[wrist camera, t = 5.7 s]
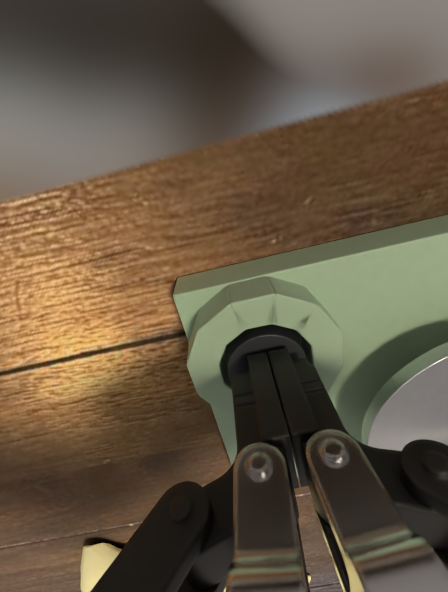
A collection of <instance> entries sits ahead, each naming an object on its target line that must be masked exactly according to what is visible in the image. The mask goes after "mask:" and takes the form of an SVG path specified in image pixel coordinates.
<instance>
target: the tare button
mask: <svg viewBox="0 0 448 592" xmlns="http://www.w3.org/2000/svg"><path fill="white" fill-rule="evenodd" d="M282 348H287V349H288V352H289V354H290V357H291V359H292V361H294V360H298V359H303V358H305V359H306V355H305V352H304V350H303V348H302V346H301V344H300V341H299V339H298V337H297V335H296V333H295V331H294V329H290V328H285V327H281V326H277V325H273V324H270V325H265V326H261V327H256V328H251V329H247V330H245V331H243V332H242V333H241V334H240V335H238V336H237V337H236V338H235V339H233V340H232V341H231V342H230V343H228V344H227V345H226V356H227V369H228V375H229V378H230V380H231V382H232V381H233V379H234V377H235V374H236V373H237V372H241V371H246V370H249V364H248V359H247V356H249V355H254V354H258V353H263V352H266V354H267V357H268V352H267V351H272V350H277V349H282ZM268 361H269V357H268ZM269 365H270V362H269ZM270 368H271V367H270Z"/></svg>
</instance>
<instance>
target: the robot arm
mask: <svg viewBox="0 0 448 592" xmlns="http://www.w3.org/2000/svg"><path fill="white" fill-rule="evenodd" d="M267 352H268V357H269V361H268V357H267V354H266V352H263V353H258V354H254V355H249V356H247V359H248V364H249V370H246V371H241V372H237V373H236V374H235V377H234V379H233V381H232V395H233V406H234V418H235V429H236V440H237V454H236V458H235V460H234V463H233V464H232V466H231V467H230V469H229V470H228V471H227V472H226V473H225V474H224V475H223V476H221V477H220V478H218V479H216V480H214V481H213V482H211V483H209V484H207V485H206V486H204V487H201V486H200V485H199V484H197V483H195V482H189V481H186V482H181V483H178V484H176V485H174V486H172V487H171V488H170V489H169V490H167V491H166V492H165V494H164V495H163V496H162V497H161V498H160V500H159V501H158V502H157V504H156V505H155V506H154V508H153V509H152V510H151V512H150V513H149V514H148V516H147V517H146V518H145V520H144V521H143V522H142V524H141V525H140V526H139V528H138V529H137V530H136V532H135V533H134V534H133V536H132V537H131V538H130V540H129V541H128V542H127V544H126V545H125V546H124V548H123V549H122V550H121V552H120V553H119V554H118V556H117V557H116V558H115V560H114V561H113V562H112V564H111V565H110V566H109V568H108V569H107V570H106V571H105V573H104V574H103V575H102V577H101V578H100V579H99V581H98V582H97V583H96V585H95V586H94V587H93V589H92V590H91V591H90V592H224V590H225V588H226V592H310V588H309V582H308V576H307V570H306V564H305V558H304V552H303V547H302V541H301V535H300V529H299V523H298V518H299V512H298V506H297V502H296V497H295V492H294V488H299V484H298V479H297V474H296V469H297V473H298V476H299V480H300V484H301V487H303V486H309V488H310V492H311V495H312V498H313V502H314V507H315V513H316V517H317V520H318V522H319V525H320V528H321V531H322V533H323V536H324V539H325V542H326V545H327V547H328V550H329V553H330V556H331V558H332V561H333V564H334V567H335V569H336V572H337V575H338V578H339V581H340V583H341V586H342V589H343V592H448V445H445V444H443V443H441V442H437V441H434V440H428V439H419V440H414V441H411V442H409V443H408V444H406V445H405V447H404V448H403V450H402V451H396V450H388V449H380V448H374V447H371V446H367V445H365V444H363V443H361V442H359V441H357V440H356V439H355V438H353V437H352V436H351V435H350V434H349V433H348V432H347V430H346V429H345V427H344V426H343V424H342V422H341V419H340V417H339V415H338V413H337V411H336V409H335V407H334V405H333V403H332V401H331V399H330V397H329V395H328V393H327V391H326V390H325V387H324V384H323V382H322V380H321V379H320V376H319V374H318V372H317V370H316V368H315V366H313V365H312V364H311V363H310V362H308V361H307V360H306V359H305V358H303V359H298V360H294V361H292V359H291V357H290V354H289V352H288V349H287V348H282V349H277V350H272V351H267ZM269 362H270V365H269ZM270 367H271V368H270ZM294 462H295V463H294ZM295 465H296V469H295Z"/></svg>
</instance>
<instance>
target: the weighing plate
mask: <svg viewBox="0 0 448 592" xmlns="http://www.w3.org/2000/svg"><path fill="white" fill-rule="evenodd" d="M361 435H362V443H363V444H365V445H367V446H371V447H374V448H380V449H388V450H396V451H402V450H403V448H404V447H405V445H406V444H408V443H409V442H411V441H414V440H419V439H428V440H434V441H437V442H441V443H443V444H445V445H448V342H446V343H444V344H442V345H440V346H438V347H435V348H433V349H431V350H430V351H428V352H426V353H424V354H423V355H421V356H419V357H417V358H416V359H414V360H413V361H411V362H410V363H409V364H407V365H406V366H404V367H403V368H402V369H401V370H399V371H398V372H397V373H396V374H395V375H393V376H392V377H391V378H390V379H389V380H388V381H387V382H386V383H385V384H384V386H383V387H382V388H381V389H380V390H379V392H378V393H377V394H376V395H375V397H374V399H373V400H372V402H371V404H370V405H369V407H368V409H367V412H366V414H365V416H364V420H363V424H362V434H361Z"/></svg>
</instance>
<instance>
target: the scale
mask: <svg viewBox="0 0 448 592" xmlns="http://www.w3.org/2000/svg"><path fill="white" fill-rule="evenodd" d="M173 299H174V302H175V304H176V307H177V310H178V313H179V316H180V319H181V322H182V325H183V327H184V330H185V333H186V336H187V339H188V342H189V347H188V356H187V368H188V371H189V373H190V376H191V379H192V381H193V384H194V387H195V390H196V392H197V395H199V396H200V397H201V398H202V399H204V400H205V401H206V402H208V403H209V404H210V405H211V407H212V410H213V413H214V416H215V419H216V422H217V425H218V427H219V430H220V433H221V436H222V439H223V442H224V445H225V447H226V450H227V453H228V456H229V459H230V462H231V465H232V464H233V463H234V460H235V458H236V454H237V440H236V429H235V418H234V406H233V395H232V382H231V380H230V378H229V375H228V369H227V356H226V345H227V344H228V343H230V342H231V341H232V340H233V339H235V338H236V337H237V336H238V335H240V334H241V333H242V332H243V331H245V330H247V329H251V328H256V327H261V326H265V325H270V324H273V325H277V326H281V327H285V328H290V329H294V331H295V333H296V335H297V337H298V339H299V341H300V344H301V346H302V348H303V350H304V352H305V355H306V360H307V361H308V362H310V363H311V364H312V365H313V366H315V368H316V370H317V372H318V374H319V376H320V379H321V380H322V382H323V384H324V387H325V390H326V391H327V393H328V395H329V397H330V399H331V401H332V403H333V405H334V407H335V409H336V411H337V413H338V415H339V417H340V419H341V422H342V424H343V426H344V427H345V429H346V430H347V432H348V433H349V434H350V435H351V436H352V437H353V438H355V439H356V440H357V441H359V442H361V443H362V435H361V434H362V424H363V420H364V416H365V414H366V412H367V409H368V407H369V405H370V404H371V402H372V400H373V399H374V397H375V395H376V394H377V393H378V392H379V390H380V389H381V388H382V387H383V386H384V384H385V383H386V382H387V381H388V380H389V379H390V378H391V377H392V376H393V375H395V374H396V373H397V372H398V371H399V370H401V369H402V368H403V367H404V366H406V365H407V364H409V363H410V362H411V361H413V360H414V359H416V358H417V357H419V356H421V355H423V354H424V353H426V352H428V351H430V350H431V349H433V348H435V347H438V346H440V345H442V344H444V343H446V342H448V215H444V216H440V217H435V218H431V219H427V220H422V221H418V222H414V223H410V224H405V225H401V226H397V227H392V228H388V229H384V230H380V231H375V232H371V233H367V234H362V235H358V236H354V237H350V238H345V239H341V240H337V241H332V242H328V243H324V244H320V245H315V246H311V247H307V248H302V249H298V250H294V251H290V252H285V253H281V254H277V255H272V256H268V257H264V258H260V259H255V260H251V261H247V262H242V263H238V264H234V265H230V266H225V267H221V268H217V269H212V270H208V271H204V272H200V273H195V274H191V275H187V276H182V277H178V278H177V282H176V285H175V289H174V293H173ZM294 463H295V462H294ZM295 469H296V465H295ZM296 474H297V476H298V473H297V469H296Z"/></svg>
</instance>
